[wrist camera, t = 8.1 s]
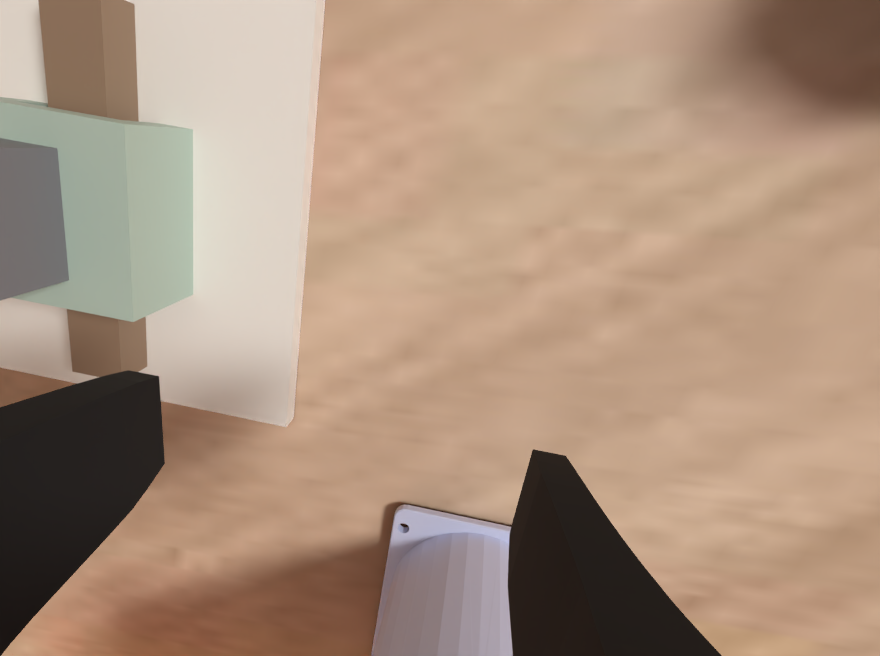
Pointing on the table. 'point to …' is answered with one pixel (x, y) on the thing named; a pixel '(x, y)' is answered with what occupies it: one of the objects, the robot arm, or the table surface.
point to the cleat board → (214, 186)
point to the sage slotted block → (94, 211)
